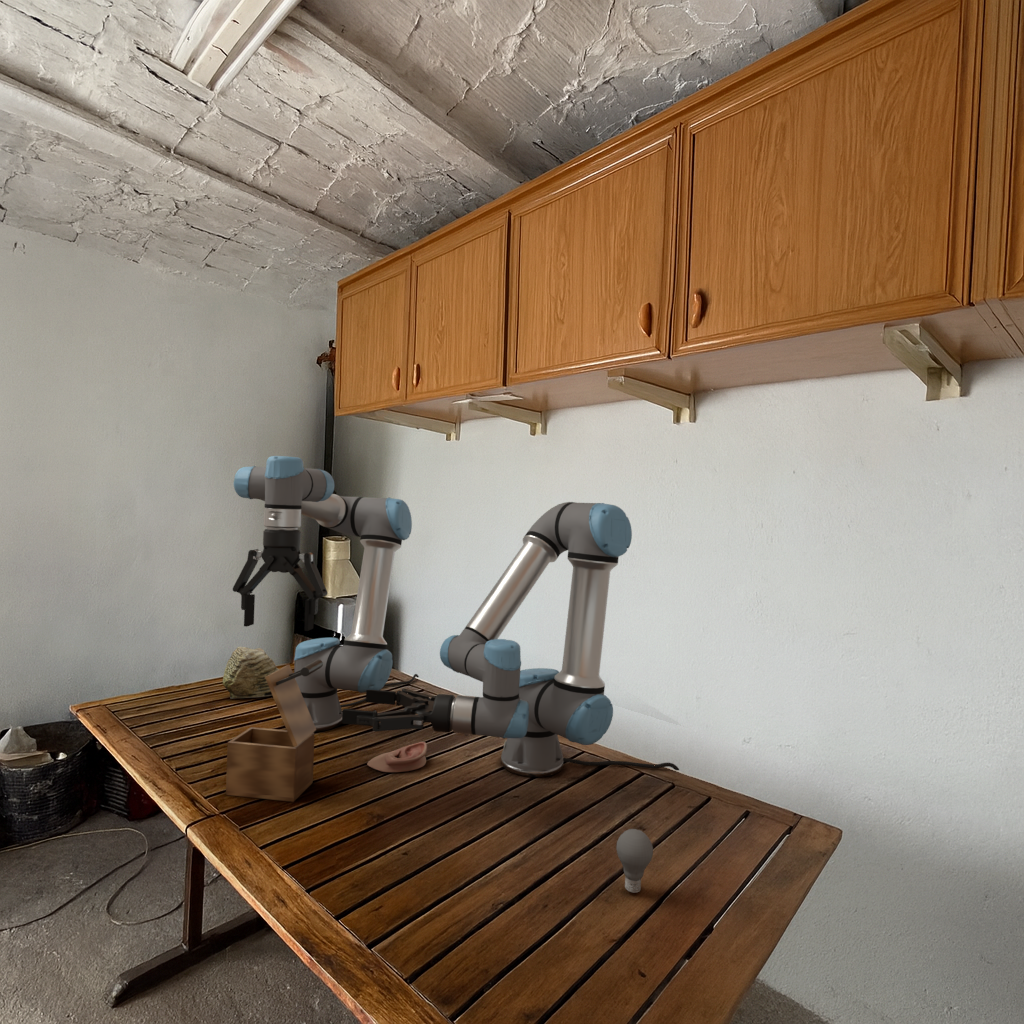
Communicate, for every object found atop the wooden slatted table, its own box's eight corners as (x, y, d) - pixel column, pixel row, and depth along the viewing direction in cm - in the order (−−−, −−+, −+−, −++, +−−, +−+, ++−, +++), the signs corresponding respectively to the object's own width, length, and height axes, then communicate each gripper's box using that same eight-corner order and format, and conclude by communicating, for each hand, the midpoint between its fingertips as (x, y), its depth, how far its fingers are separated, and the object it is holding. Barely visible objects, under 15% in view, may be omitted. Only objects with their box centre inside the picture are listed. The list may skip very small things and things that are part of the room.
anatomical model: (361, 752, 147) (381, 734, 159) (361, 769, 148) (381, 750, 159) (415, 759, 145) (432, 741, 156) (415, 776, 145) (431, 757, 156)
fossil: (218, 695, 195) (220, 647, 195) (278, 685, 208) (279, 640, 207) (228, 703, 189) (230, 653, 188) (289, 692, 201) (290, 645, 201)
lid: (264, 677, 131) (301, 661, 130) (285, 665, 141) (320, 650, 140) (293, 747, 131) (331, 731, 130) (312, 731, 140) (348, 716, 139)
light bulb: (610, 879, 108) (613, 822, 108) (644, 879, 109) (647, 822, 109) (619, 902, 102) (622, 840, 102) (655, 901, 103) (658, 840, 103)
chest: (225, 794, 133) (227, 742, 133) (249, 776, 142) (250, 726, 142) (293, 801, 131) (295, 748, 131) (312, 782, 140) (314, 732, 140)
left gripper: (217, 526, 133) (214, 626, 134) (331, 532, 130) (327, 635, 131) (237, 525, 141) (233, 620, 141) (345, 530, 138) (341, 627, 138)
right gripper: (438, 755, 119) (330, 745, 122) (464, 712, 144) (374, 704, 146) (440, 715, 119) (332, 706, 121) (466, 679, 144) (375, 672, 146)
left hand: (278, 627), depth 136 cm, fingers open, 13 cm apart
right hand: (355, 705), depth 134 cm, fingers open, 13 cm apart
